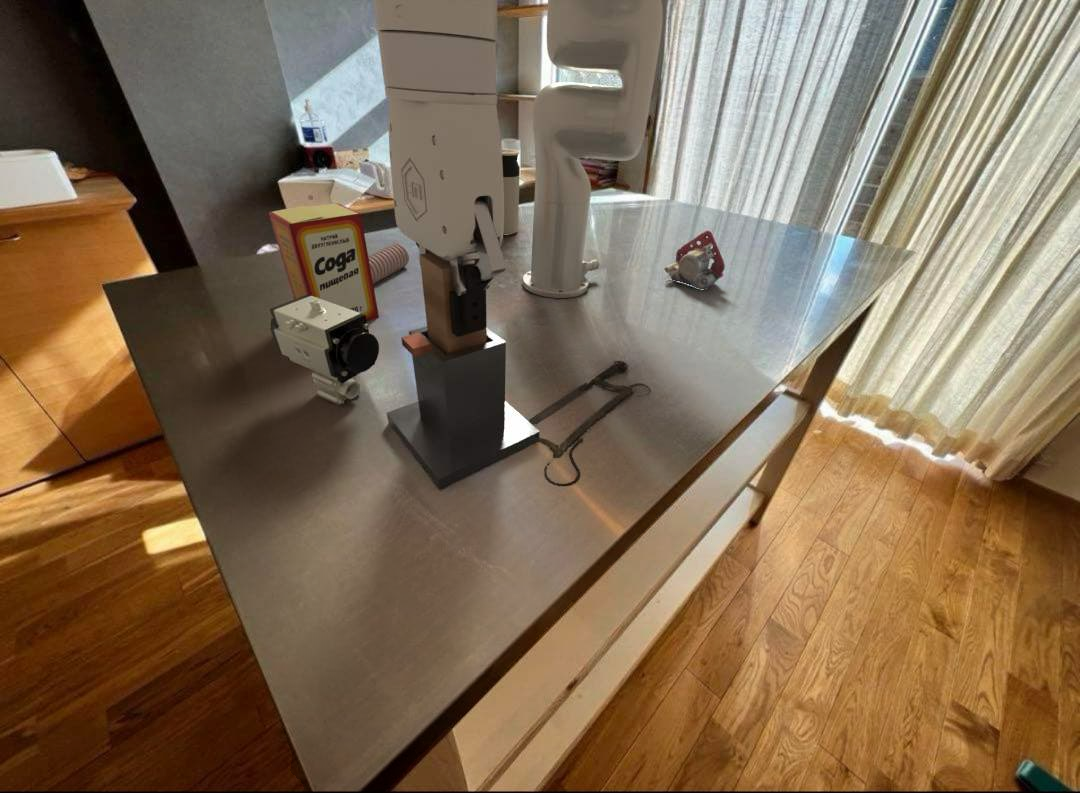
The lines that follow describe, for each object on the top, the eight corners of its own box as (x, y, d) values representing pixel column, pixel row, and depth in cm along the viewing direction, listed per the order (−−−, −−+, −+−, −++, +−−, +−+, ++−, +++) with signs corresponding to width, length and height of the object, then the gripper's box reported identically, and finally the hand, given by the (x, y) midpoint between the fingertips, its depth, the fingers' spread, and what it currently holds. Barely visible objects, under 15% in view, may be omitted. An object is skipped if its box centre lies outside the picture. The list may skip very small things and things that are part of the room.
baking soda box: (358, 303, 72) (337, 200, 63) (379, 317, 69) (360, 210, 59) (300, 319, 66) (267, 209, 57) (319, 335, 63) (287, 220, 54)
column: (468, 402, 49) (461, 246, 39) (489, 421, 47) (487, 261, 36) (435, 415, 47) (417, 254, 37) (454, 436, 44) (441, 270, 34)
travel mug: (516, 237, 107) (519, 154, 96) (484, 235, 107) (483, 151, 96) (518, 228, 113) (521, 149, 102) (488, 226, 113) (487, 147, 102)
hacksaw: (617, 364, 62) (619, 355, 61) (682, 396, 57) (685, 386, 56) (492, 443, 47) (492, 432, 47) (563, 495, 42) (564, 485, 41)
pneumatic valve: (322, 371, 56) (296, 281, 49) (390, 401, 52) (373, 308, 45) (283, 392, 52) (249, 298, 45) (354, 426, 48) (329, 329, 41)
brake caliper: (736, 273, 88) (734, 233, 79) (706, 312, 87) (701, 276, 78) (690, 258, 94) (683, 219, 85) (661, 294, 93) (652, 259, 84)
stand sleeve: (480, 388, 55) (477, 293, 47) (538, 441, 47) (546, 338, 40) (388, 423, 48) (368, 319, 41) (439, 490, 41) (427, 379, 34)
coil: (350, 276, 71) (411, 245, 85) (326, 268, 72) (391, 239, 85) (353, 301, 74) (412, 268, 88) (330, 294, 74) (392, 262, 88)
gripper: (341, 66, 32) (380, 297, 43) (453, 76, 22) (467, 376, 33) (433, 72, 36) (448, 282, 47) (565, 83, 26) (544, 349, 37)
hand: (456, 319), depth 40 cm, fingers closed on column, 4 cm apart
